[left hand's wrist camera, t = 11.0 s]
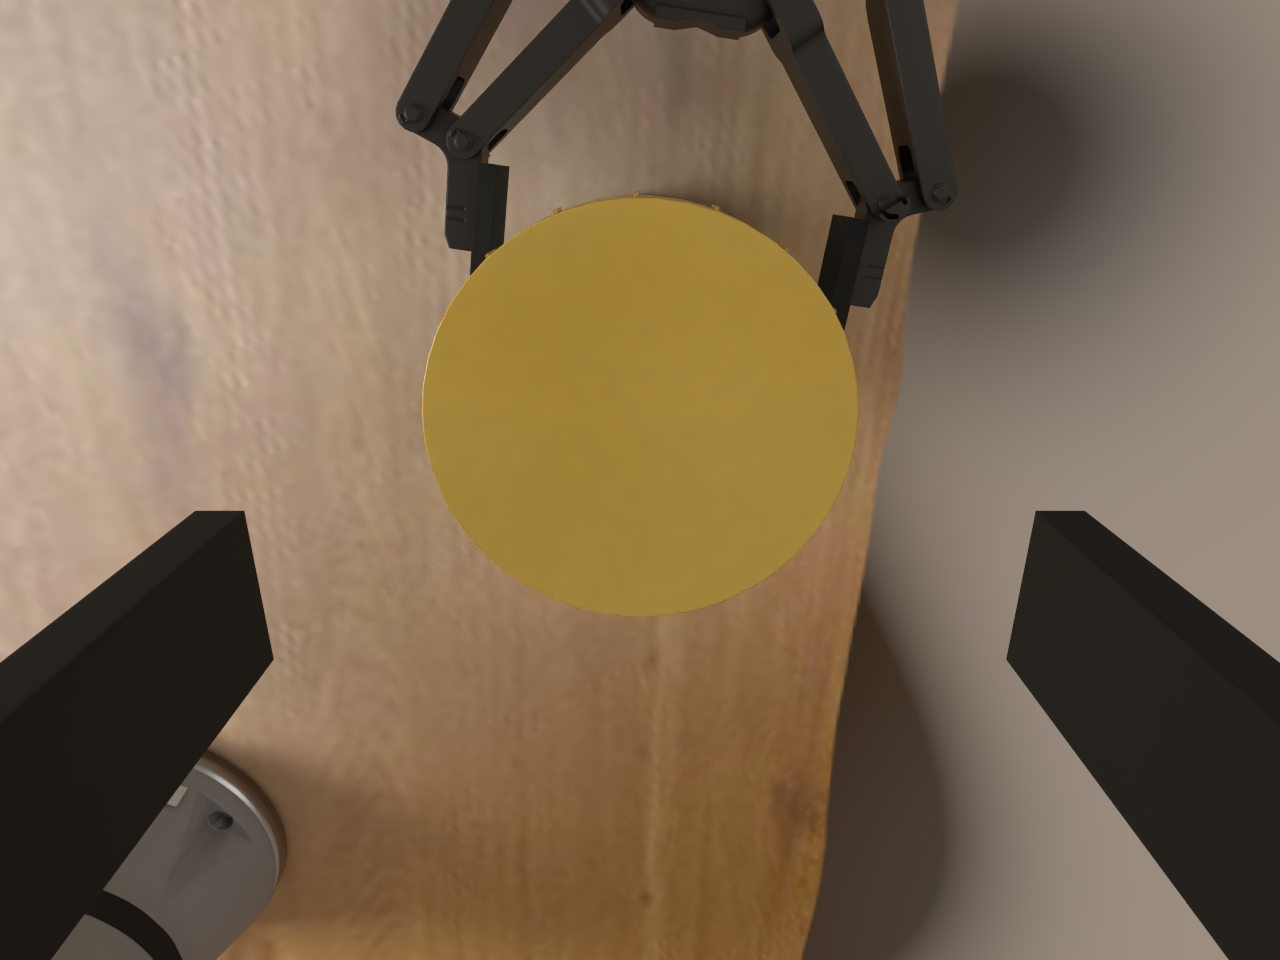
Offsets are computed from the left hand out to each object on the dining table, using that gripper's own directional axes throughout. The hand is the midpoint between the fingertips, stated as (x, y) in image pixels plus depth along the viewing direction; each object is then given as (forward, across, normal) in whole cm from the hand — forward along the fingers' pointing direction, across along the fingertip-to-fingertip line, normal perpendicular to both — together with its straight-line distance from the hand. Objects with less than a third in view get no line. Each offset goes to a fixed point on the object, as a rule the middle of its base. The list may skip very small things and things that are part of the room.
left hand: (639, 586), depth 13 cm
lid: (+9, 0, 0) cm, 9 cm away
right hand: (+21, 0, -1) cm, 21 cm away
